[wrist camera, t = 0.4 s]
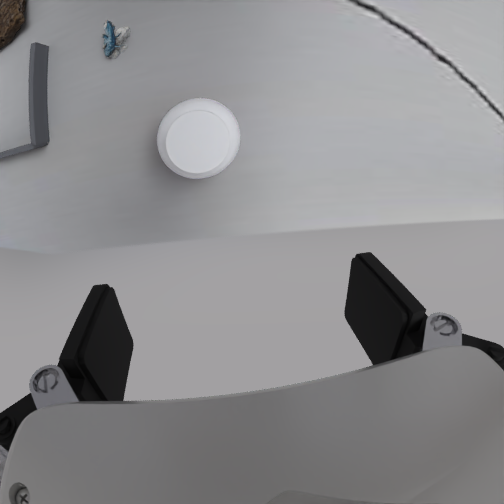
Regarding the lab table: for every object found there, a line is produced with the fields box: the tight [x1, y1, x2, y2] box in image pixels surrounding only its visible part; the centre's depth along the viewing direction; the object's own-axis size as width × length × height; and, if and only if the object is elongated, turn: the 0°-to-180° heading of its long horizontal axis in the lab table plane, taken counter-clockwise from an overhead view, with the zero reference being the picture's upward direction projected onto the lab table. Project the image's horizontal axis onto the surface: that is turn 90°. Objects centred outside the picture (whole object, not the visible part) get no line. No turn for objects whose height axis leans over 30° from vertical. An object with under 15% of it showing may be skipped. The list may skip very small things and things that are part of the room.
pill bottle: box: [157, 98, 240, 179], centre depth 29 cm, size 8×8×14 cm
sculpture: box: [102, 20, 130, 59], centre depth 26 cm, size 10×12×6 cm
